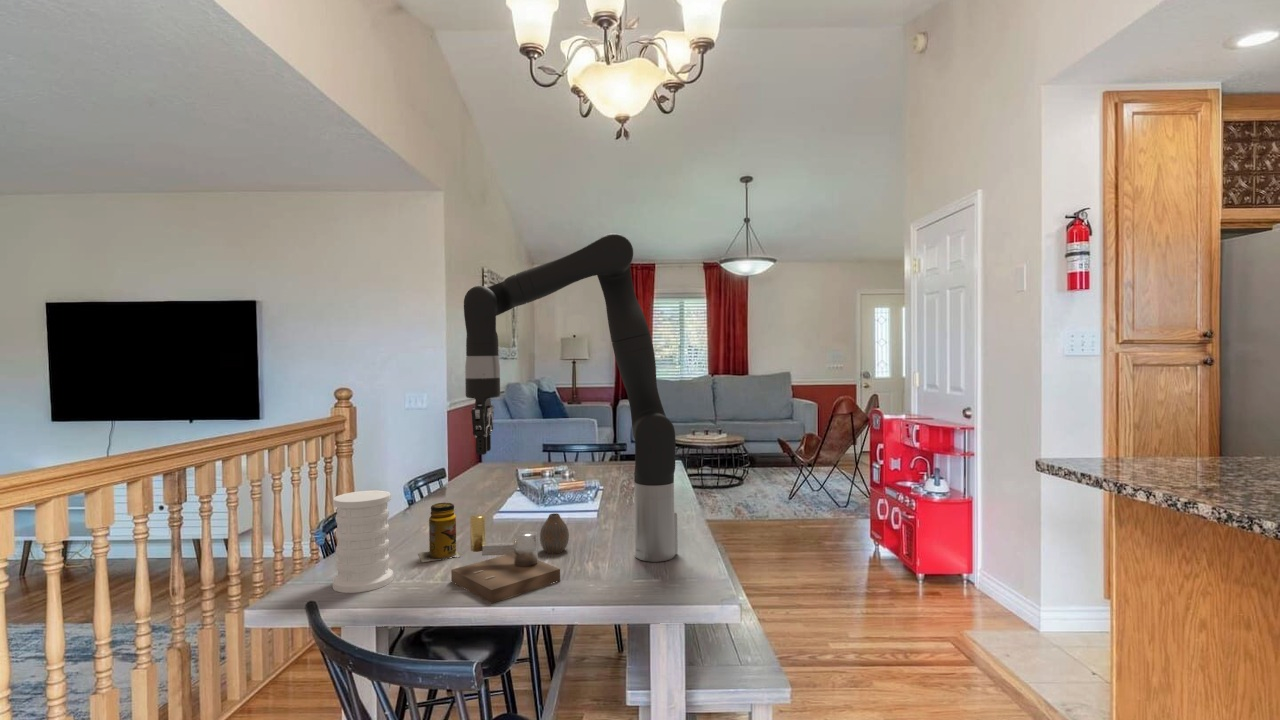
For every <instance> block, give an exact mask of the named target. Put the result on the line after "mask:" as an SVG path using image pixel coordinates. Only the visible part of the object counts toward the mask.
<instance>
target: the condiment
mask: <svg viewBox="0 0 1280 720" xmlns="http://www.w3.org/2000/svg"><path fill="white" fill-rule="evenodd" d="M428 522H429V524H428V526H429V528H428V529H429V531H428V532H429V533H428V534H429V535H428V536H429V537H428V539H429V550H428V551H421V552H418V556H419V558H420V561H421V563H426V562H434V561H443V560H444V559H445V560H447V559H446V558H450V557H451V558H452V557H453V556H455V557H456V556H457V558H461V556H460V553H458V551H457V516H456V514H455V505H454V503H452V502H438V503H434V504H432V505H430V516H429V519H428ZM441 559H443V560H441ZM452 559H453V558H452Z"/></svg>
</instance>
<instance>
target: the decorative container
mask: <svg viewBox="0 0 1280 720" xmlns="http://www.w3.org/2000/svg"><path fill="white" fill-rule="evenodd" d="M391 497H392V495H391V492H390V491H387V490H376V489H375V490H373V489H371V490H370V489H369V490H359V491H352V492H346V493H343V494H338V495H336V496H335V497H333V507H335V508H336V515H335V522H336V525H337V529H336V531H335V537H336V540H337V545H336V547H335V552H336V555H337V560H336V564H335V567H336V570H337V575H336V576H335V577H333V579H332V589H333V590H334V591H335V592H338V593H343V594H353V593H354V594H355V593H364V592H369V591H373V590H377V589H380V588H384V587H385V586H387V585H389V584H390V583H392V582H393V580H394V577H395V576H394V570H392V569H391V568H389V563H390V559H391V558H390V555H389V554H390V553H389V547H390V540H389V538H388V537H389V535H388V533H389V531H390V525H389V523H388V519H389V515H390V511H389V508H388V502H390V501H391V500H392V498H391Z"/></svg>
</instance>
